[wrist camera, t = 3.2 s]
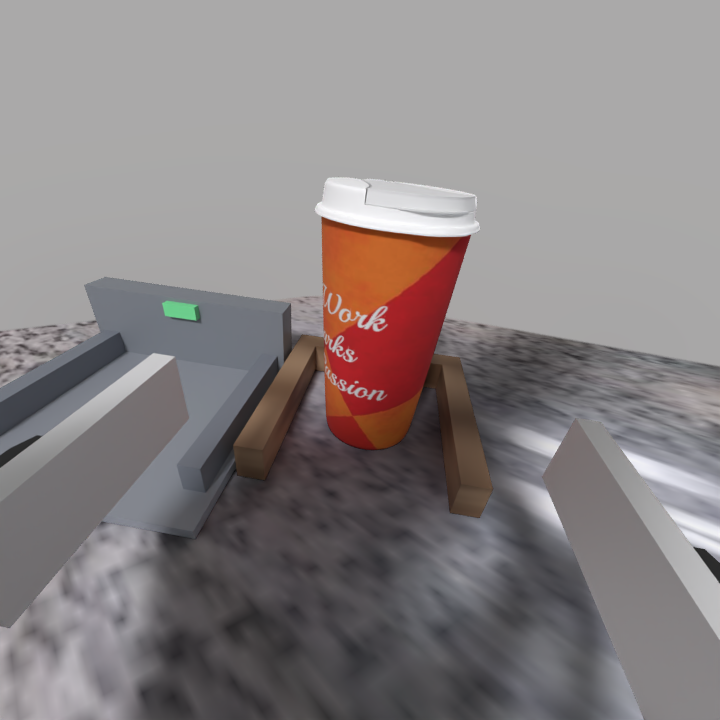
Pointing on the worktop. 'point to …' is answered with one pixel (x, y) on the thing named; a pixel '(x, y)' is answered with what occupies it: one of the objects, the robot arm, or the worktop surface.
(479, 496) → the wooden u-shaped frame
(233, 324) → the port dock
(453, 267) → the coffee cup
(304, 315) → the worktop surface
